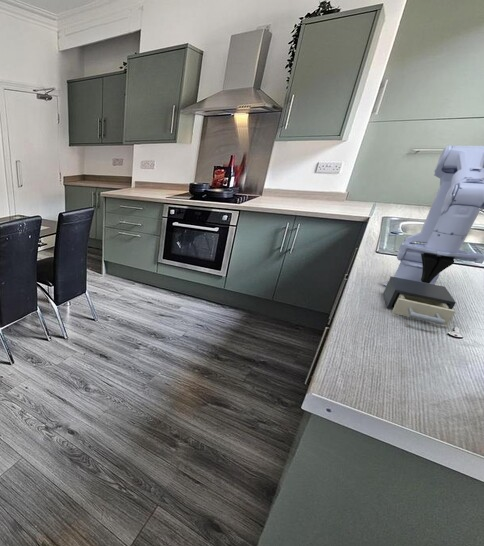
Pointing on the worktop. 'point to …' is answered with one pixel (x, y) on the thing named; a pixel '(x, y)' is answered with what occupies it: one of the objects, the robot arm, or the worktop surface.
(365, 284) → the worktop surface
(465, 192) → the robot arm
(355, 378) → the worktop surface
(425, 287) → the drawer box
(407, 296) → the cream drawer
